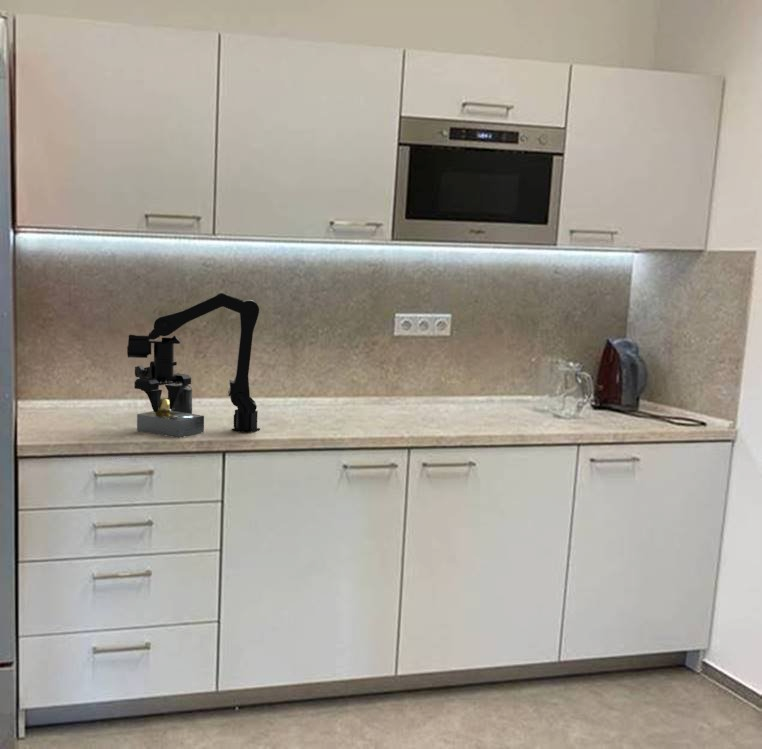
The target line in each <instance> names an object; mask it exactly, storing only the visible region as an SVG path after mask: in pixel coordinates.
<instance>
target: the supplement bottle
mask: <svg viewBox="0 0 762 749" xmlns="http://www.w3.org/2000/svg"><path fill="white" fill-rule="evenodd" d="M182 385H183V386H185V388H183V390H182V392H181V393H180V395H179V397H178V399H177V401H176V403H175V405H174V407H173V409H170V411H177V412H183V413H190V414H193V389H192V387H191V386H190V385H189V384H188V385H184V384H183V383H182Z"/></svg>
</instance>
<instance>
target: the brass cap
mask: <svg viewBox="0 0 762 749" xmlns="http://www.w3.org/2000/svg"><path fill="white" fill-rule="evenodd" d="M170 411H171V409H170V398H168V397H161V398H160V403H159V407H158V411H157V412H156V414H155V415H156V416H163V417H165V416H170V415H171V414H170Z"/></svg>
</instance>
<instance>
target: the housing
mask: <svg viewBox="0 0 762 749" xmlns="http://www.w3.org/2000/svg"><path fill="white" fill-rule="evenodd" d="M155 414H156V412H154V411H153V410H151V411H147V412H142V413H137V414H136V415H137V416H136V431H137V430H138V431H137V432H141V431H143V432H142V433H147V432H148V434H153V433H154V434H155V435H158V434H160V435H159V436H164V435H167V436H166V437H170V436H173V437H172V438H176V437H178V438H177V439H180V437H181V438H185V437H184V436H186V437H189V435H190V436H194V435H198V434H202V433H201V432H203V433H204V430H205V416H204V415H203V414H202V415H201V414H196V413H192V414H190V413H183V412H177V411H171V410H170V414H171V415H170V416H165V417H163V416H156V415H155ZM197 433H198V434H197Z"/></svg>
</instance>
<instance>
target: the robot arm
mask: <svg viewBox="0 0 762 749" xmlns="http://www.w3.org/2000/svg"><path fill="white" fill-rule="evenodd" d="M221 307H222V308H226V309H228V310H230V311H233V312H236V313H238V314H239V325H240V326H239V328H240V333H239V334H240V335H239V344H238V354H237V360H236V372H235V376H234V379H229V390H228V391H227V394H228V397H230V401H231V404H232V405H234V406H235V407H237V409H235V410H234V414H233V427H232V428H231V429H230V431H232V430H233V431H234V432H239V431H240V433H245V432H246V434H250V433H253V432H257V430H258V431H260V430H261V428H260V427H258V414H259V412H258V410H257V408H258V407H257V403H256V401H255V400H254V399H253V398H252V397H251V393H250V382H249V373H250V365H251V364H250V362H251V354H252V346H253V336H254V335H253V334H254V330H255V328H256V324H257V322H258V317H259V314H260V306H259V305H258V303H257V302H255V301H254V300H253V299H245V300H243V299H240V298H237V297H234V296H231V295H228V294H227V293H225V292H219V293H217V294H216V295H214V296H212V297H209V298H207V299H206V300H203V301H200V302H198V303H196V304H194V305H191V306H190V307H188V308H185V309H183V310H180V311H175V312H172V313H171V312H170V313H167V314H163V315H160V316H158V317H157V318H156V319H155V321H154V322H153V329H152V330H151V331H149V332H148V335H145V334H144V335H143V334H142V335H141V334H134V333H131V334H130V333H129V334H128V341H127V343H128V344H127V347H126V351H127V352H126V353H127V355H126V356H127V358H131V359H132V358H133V359H134V358H135V359H148V357H149V356H151V355H152V353H153V360H152V361H150V362H149V366H147V367H145V366H143V365H137V366H135V367H134V376H135V378H136V379H135V381H134V383H133V384H134V389H135V390H140V391H142V392H144V393H145V394H146V396H147V398H148V401H149V403H150V406H151V408H152V411H154V412H157V411H158V407H159V403H160V398H162V393H163V390H162V389H159V388H160V387H159V386H164V387H165V388H166V391H167V398H170V410H171V409H173V407H174V405H175V403H176V401H177V399H178V397H179V395H180V393H181V392H182V390H183V388H185V386H183V385H182V383H183V384H184V385H188V386H189V385H191V384H192V377H191V376H190V375H189V374H188V373H187V374H186V373H178V372H177V373H174V368H175V367H174V366H177V365H178V363H177V361H174V360H175V358H174V357H175V356H174V355H175V353H174V352H175V351H174V350H175V345H176V344H177V345H179V344H180V343H181V339H179V338H178V337H177V335H175V334H174V335H173V336H171V334H172V333H174V332H176V331H177V330H179V329H180V328H181V327H183V326H184V325H186V324H187V323H189V322H191V321H193V320H195V319H198V318H200V317H202V316H204V315H207V314H209V313H211V312H213V311H215V310H218V309H220V308H221ZM169 335H170V336H171V337H167V336H169ZM160 337H161V340H156V339H158V338H160ZM152 346H153V347H152Z"/></svg>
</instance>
